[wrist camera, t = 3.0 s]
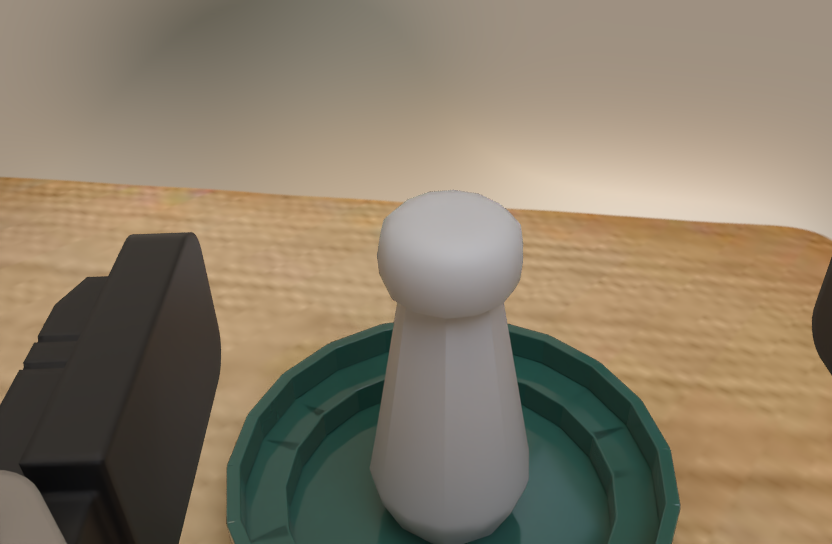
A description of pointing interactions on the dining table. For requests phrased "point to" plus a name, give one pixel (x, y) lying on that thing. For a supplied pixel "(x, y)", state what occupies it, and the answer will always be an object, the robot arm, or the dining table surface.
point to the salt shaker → (450, 369)
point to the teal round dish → (355, 435)
